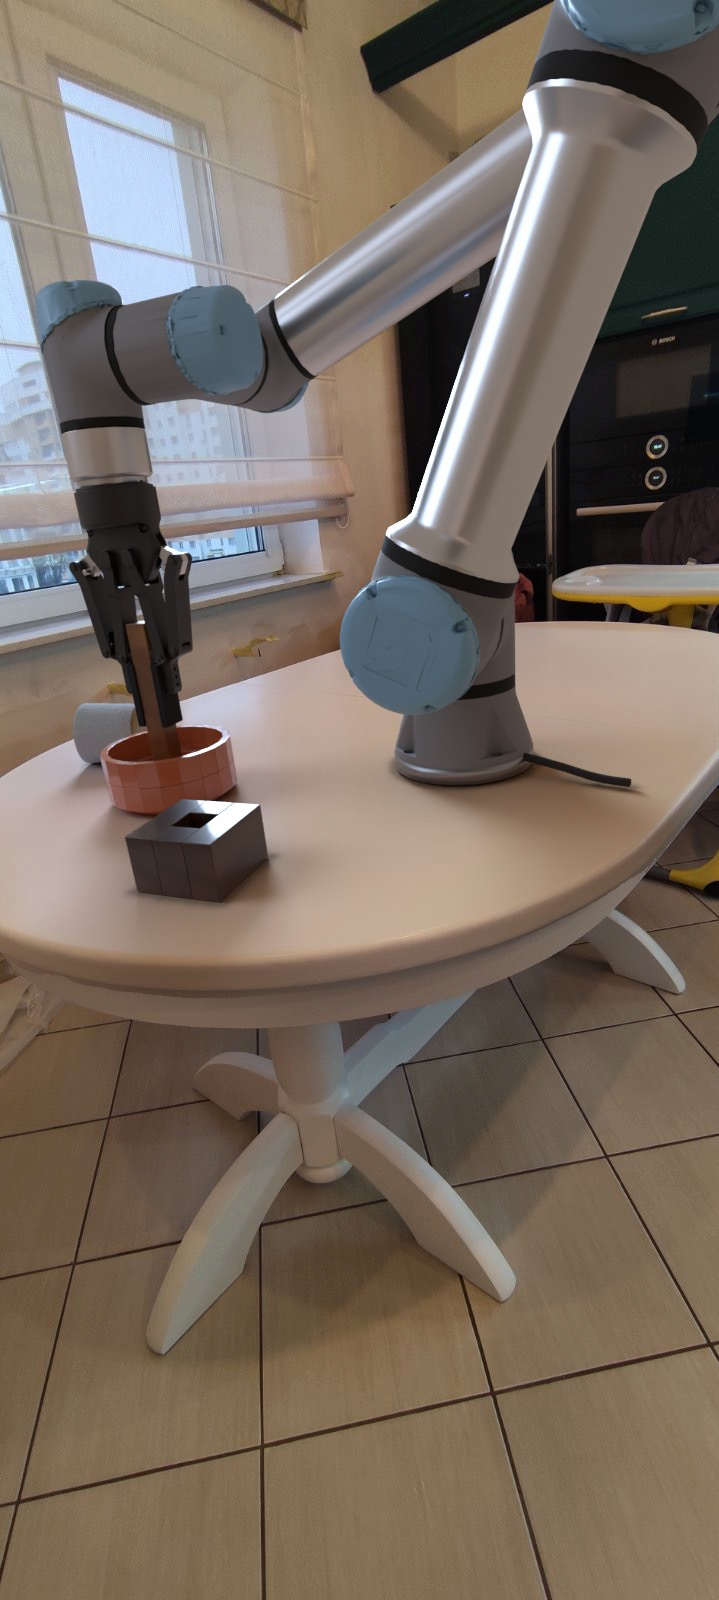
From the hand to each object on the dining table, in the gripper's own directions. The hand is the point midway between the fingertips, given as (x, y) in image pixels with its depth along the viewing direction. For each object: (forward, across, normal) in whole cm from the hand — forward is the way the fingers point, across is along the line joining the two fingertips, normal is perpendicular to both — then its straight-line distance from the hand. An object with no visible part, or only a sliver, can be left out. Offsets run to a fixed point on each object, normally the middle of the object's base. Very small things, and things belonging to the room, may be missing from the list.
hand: (161, 722), depth 77 cm
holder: (+8, -14, +16) cm, 23 cm away
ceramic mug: (+8, +16, -11) cm, 21 cm away
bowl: (+8, 0, 0) cm, 8 cm away
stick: (+7, 0, 0) cm, 7 cm away
